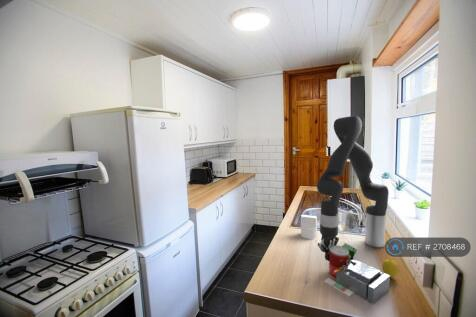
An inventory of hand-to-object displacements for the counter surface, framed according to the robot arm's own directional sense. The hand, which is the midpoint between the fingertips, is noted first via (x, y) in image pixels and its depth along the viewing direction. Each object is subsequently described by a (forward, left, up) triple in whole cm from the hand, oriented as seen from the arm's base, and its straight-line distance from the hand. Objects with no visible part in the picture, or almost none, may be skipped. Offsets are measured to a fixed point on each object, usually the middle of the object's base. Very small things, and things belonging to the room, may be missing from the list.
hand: (328, 259), depth 104 cm
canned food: (0, +5, -4) cm, 7 cm away
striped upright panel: (+8, +10, -4) cm, 13 cm away
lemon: (-15, +19, -4) cm, 25 cm away
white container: (-20, -27, -4) cm, 34 cm away
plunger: (+3, +13, -4) cm, 13 cm away
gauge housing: (0, +15, -4) cm, 16 cm away
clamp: (-13, +1, -5) cm, 13 cm away
